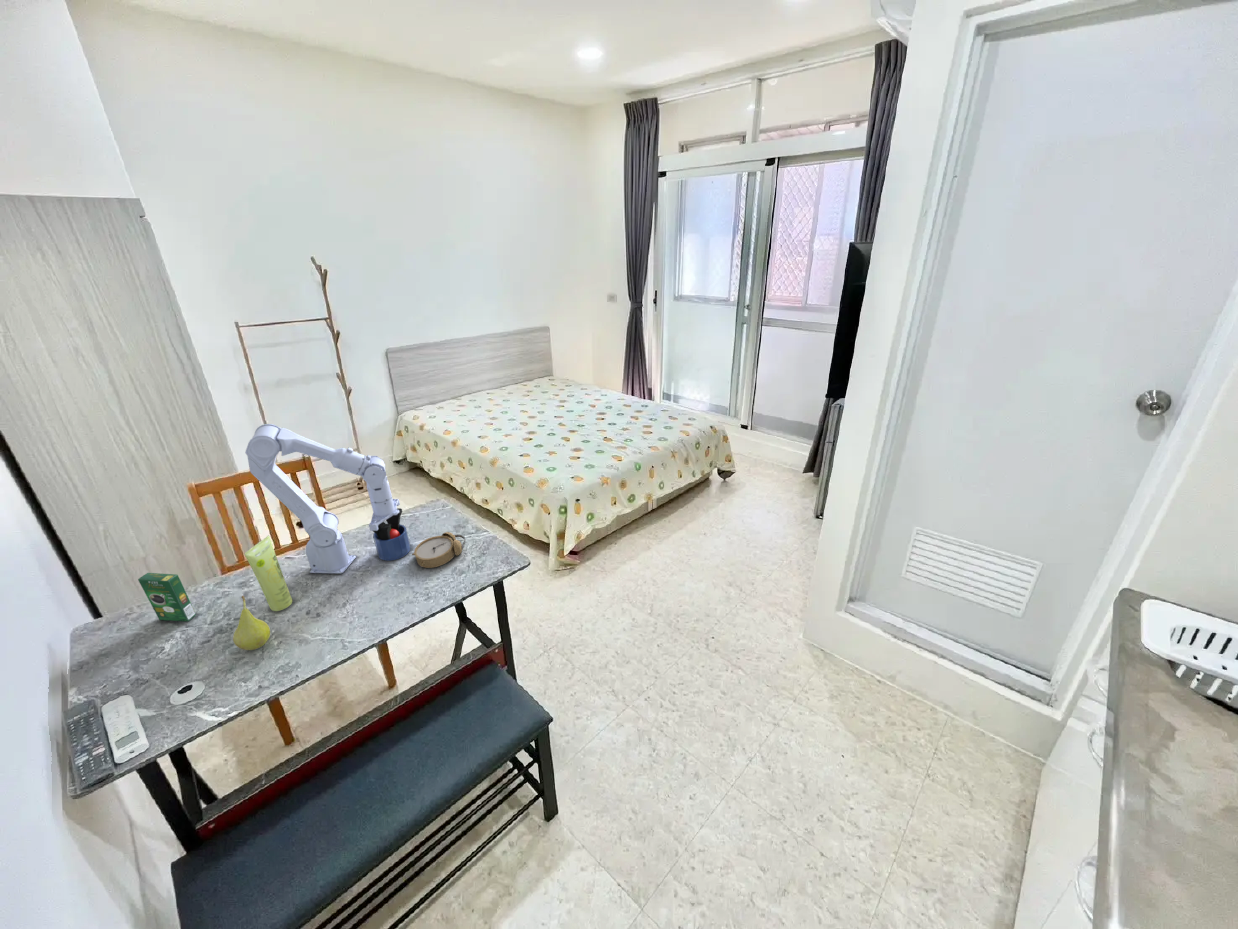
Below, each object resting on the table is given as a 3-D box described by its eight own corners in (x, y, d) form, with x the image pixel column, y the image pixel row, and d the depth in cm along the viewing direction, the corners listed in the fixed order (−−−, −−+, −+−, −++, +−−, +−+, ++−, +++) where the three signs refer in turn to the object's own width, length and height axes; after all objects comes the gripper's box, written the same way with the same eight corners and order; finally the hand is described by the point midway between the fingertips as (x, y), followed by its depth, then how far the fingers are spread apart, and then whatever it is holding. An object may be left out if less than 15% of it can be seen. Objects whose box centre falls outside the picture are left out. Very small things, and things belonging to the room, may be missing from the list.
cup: (372, 560, 143) (367, 540, 140) (386, 542, 151) (382, 523, 148) (402, 561, 142) (397, 541, 139) (415, 543, 151) (411, 524, 148)
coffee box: (199, 614, 123) (178, 573, 117) (189, 622, 120) (167, 580, 115) (169, 612, 123) (147, 571, 118) (158, 621, 121) (135, 579, 115)
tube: (293, 608, 125) (269, 545, 116) (270, 616, 122) (243, 553, 114) (292, 595, 129) (269, 534, 120) (270, 603, 127) (244, 541, 118)
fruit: (237, 661, 109) (218, 621, 104) (241, 639, 115) (223, 600, 110) (272, 649, 112) (255, 610, 107) (275, 629, 118) (258, 590, 113)
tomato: (380, 548, 143) (376, 531, 141) (388, 539, 148) (384, 522, 145) (397, 549, 143) (393, 531, 141) (404, 539, 148) (400, 522, 145)
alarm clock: (407, 547, 143) (454, 522, 151) (413, 559, 146) (459, 534, 153) (421, 565, 136) (469, 538, 143) (427, 578, 138) (474, 550, 146)
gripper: (382, 511, 132) (393, 552, 138) (405, 486, 145) (414, 524, 151) (357, 511, 132) (368, 552, 138) (382, 485, 145) (392, 524, 151)
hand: (391, 537), depth 144 cm, fingers open, 5 cm apart
